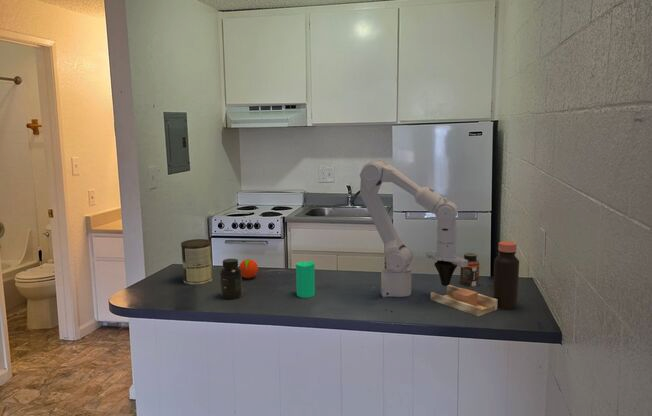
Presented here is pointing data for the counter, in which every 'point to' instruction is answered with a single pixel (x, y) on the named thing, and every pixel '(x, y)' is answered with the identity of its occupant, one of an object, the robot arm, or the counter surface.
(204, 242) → the coffee can
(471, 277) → the supplement bottle
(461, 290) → the block
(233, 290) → the supplement bottle
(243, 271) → the red tomato
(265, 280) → the counter surface
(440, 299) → the wooden tray
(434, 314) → the counter surface
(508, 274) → the vinegar
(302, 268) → the candle
